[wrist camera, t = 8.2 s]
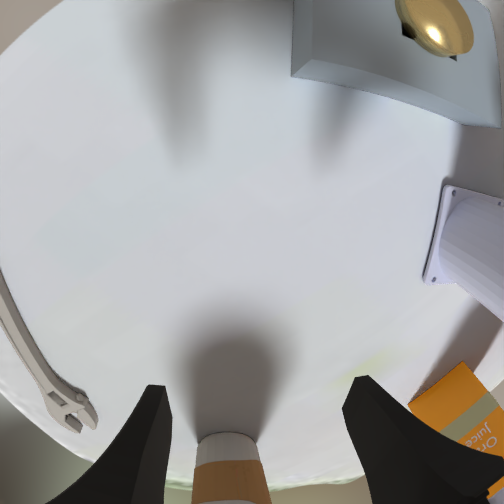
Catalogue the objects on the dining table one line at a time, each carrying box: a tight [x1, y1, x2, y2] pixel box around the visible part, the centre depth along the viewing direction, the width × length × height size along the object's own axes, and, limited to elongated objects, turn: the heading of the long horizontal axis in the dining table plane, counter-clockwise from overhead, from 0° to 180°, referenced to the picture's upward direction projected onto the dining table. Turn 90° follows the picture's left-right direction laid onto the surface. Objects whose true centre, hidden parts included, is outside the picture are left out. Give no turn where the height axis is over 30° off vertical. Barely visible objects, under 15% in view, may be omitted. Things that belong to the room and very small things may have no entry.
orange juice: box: [408, 361, 504, 499], centre depth 18 cm, size 8×9×20 cm
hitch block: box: [291, 0, 502, 129], centre depth 11 cm, size 14×10×4 cm
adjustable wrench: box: [0, 271, 98, 433], centre depth 18 cm, size 25×6×2 cm, turn 5°
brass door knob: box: [395, 0, 474, 57], centre depth 10 cm, size 5×5×6 cm
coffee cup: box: [191, 432, 272, 504], centre depth 19 cm, size 8×8×15 cm
